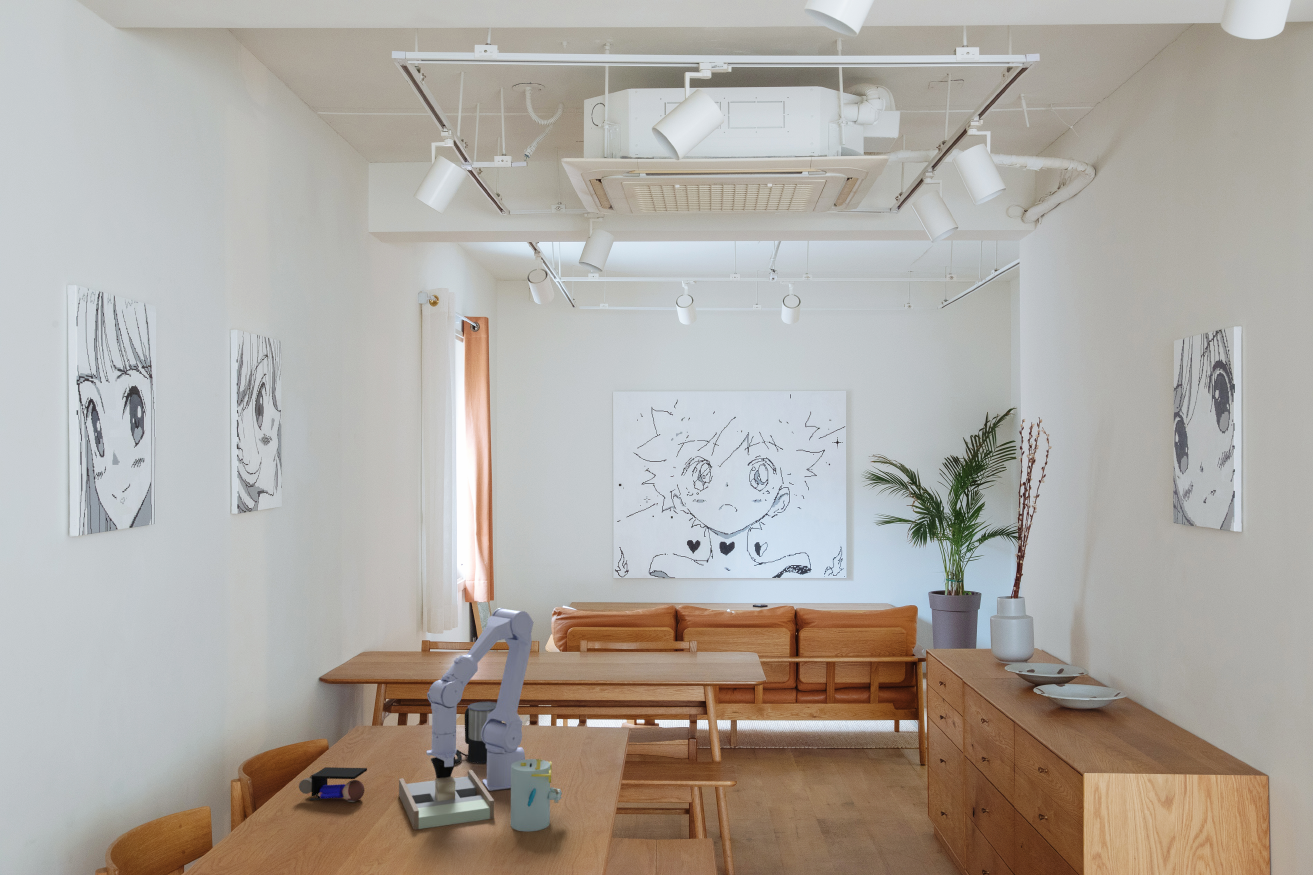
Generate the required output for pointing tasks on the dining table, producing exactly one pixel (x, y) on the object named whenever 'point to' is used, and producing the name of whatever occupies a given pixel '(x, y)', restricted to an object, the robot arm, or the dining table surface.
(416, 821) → the box
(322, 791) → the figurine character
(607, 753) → the dining table surface
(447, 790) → the block
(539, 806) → the pale blue upright cylinder
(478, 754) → the milk frother
